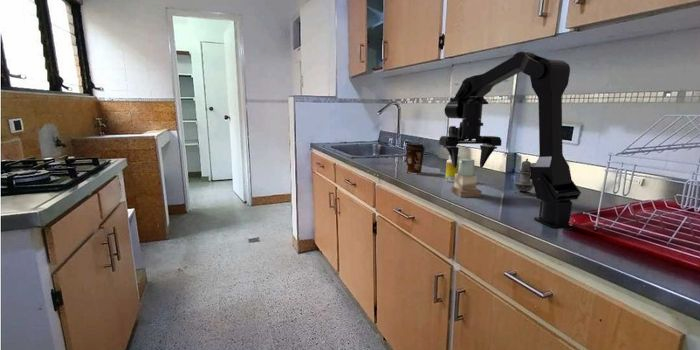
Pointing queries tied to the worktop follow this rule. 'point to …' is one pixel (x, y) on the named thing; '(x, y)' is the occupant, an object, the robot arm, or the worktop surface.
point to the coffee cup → (414, 157)
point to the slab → (466, 192)
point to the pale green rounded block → (466, 167)
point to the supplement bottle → (451, 170)
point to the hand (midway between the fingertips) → (468, 167)
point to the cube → (465, 182)
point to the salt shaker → (524, 180)
